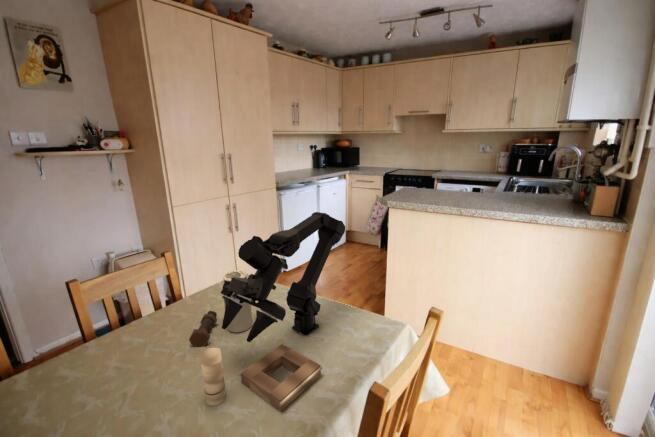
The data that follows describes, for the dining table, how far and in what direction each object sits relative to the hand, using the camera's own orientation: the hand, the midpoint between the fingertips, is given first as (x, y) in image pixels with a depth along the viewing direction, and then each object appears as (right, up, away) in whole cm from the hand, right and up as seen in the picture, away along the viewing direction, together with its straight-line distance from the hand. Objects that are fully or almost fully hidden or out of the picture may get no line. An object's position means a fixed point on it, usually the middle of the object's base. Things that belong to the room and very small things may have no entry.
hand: (235, 334), depth 75 cm
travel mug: (-6, -7, +26) cm, 28 cm away
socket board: (+11, -12, +3) cm, 17 cm away
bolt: (-16, -8, +23) cm, 29 cm away
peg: (-4, -14, -2) cm, 15 cm away
